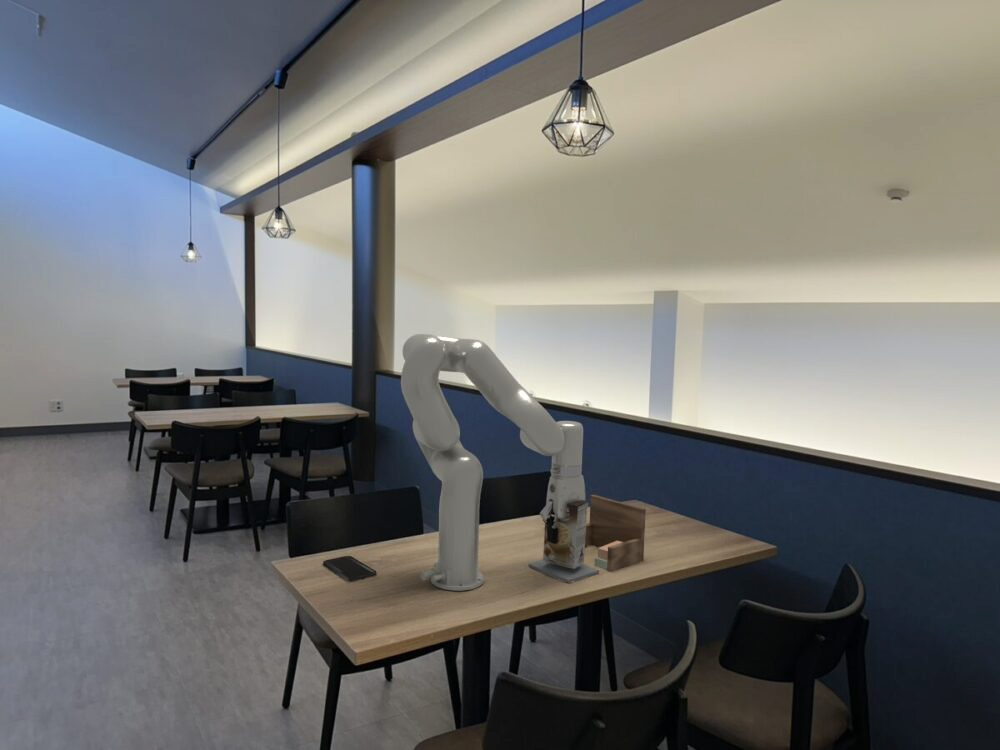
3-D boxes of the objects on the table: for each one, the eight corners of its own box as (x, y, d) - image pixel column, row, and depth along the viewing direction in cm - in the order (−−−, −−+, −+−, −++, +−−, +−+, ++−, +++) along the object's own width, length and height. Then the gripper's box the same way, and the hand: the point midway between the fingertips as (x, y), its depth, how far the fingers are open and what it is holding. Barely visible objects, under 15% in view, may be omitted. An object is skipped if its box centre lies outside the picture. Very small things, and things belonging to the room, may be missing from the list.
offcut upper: (609, 561, 169) (609, 551, 169) (597, 557, 171) (598, 548, 171) (628, 553, 176) (628, 543, 175) (616, 549, 178) (617, 540, 178)
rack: (610, 571, 167) (612, 517, 166) (559, 552, 181) (561, 501, 180) (643, 560, 176) (645, 508, 175) (592, 542, 190) (594, 494, 189)
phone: (349, 555, 172) (378, 572, 160) (349, 559, 172) (378, 576, 160) (321, 561, 166) (348, 579, 155) (320, 565, 167) (348, 584, 155)
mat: (568, 583, 158) (568, 580, 158) (528, 566, 169) (528, 563, 169) (598, 573, 166) (598, 570, 166) (558, 557, 176) (558, 554, 176)
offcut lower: (607, 571, 169) (607, 561, 168) (594, 567, 171) (594, 557, 171) (628, 562, 176) (629, 552, 176) (615, 558, 179) (616, 549, 178)
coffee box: (541, 561, 167) (544, 499, 166) (553, 554, 172) (555, 494, 171) (574, 569, 162) (577, 505, 161) (585, 562, 167) (588, 500, 166)
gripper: (552, 477, 157) (549, 550, 158) (600, 469, 168) (597, 537, 170) (531, 471, 163) (528, 541, 164) (578, 464, 174) (576, 529, 175)
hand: (563, 539), depth 167 cm, fingers closed on coffee box, 7 cm apart
